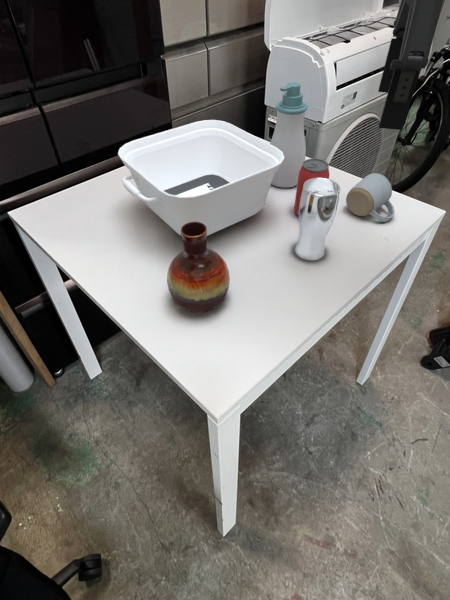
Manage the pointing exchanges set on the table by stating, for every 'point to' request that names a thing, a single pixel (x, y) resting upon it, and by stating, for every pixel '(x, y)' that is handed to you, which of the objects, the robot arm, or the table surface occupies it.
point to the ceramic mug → (371, 197)
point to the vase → (197, 272)
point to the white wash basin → (201, 173)
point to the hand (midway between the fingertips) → (388, 108)
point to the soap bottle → (290, 135)
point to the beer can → (310, 176)
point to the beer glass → (316, 216)
